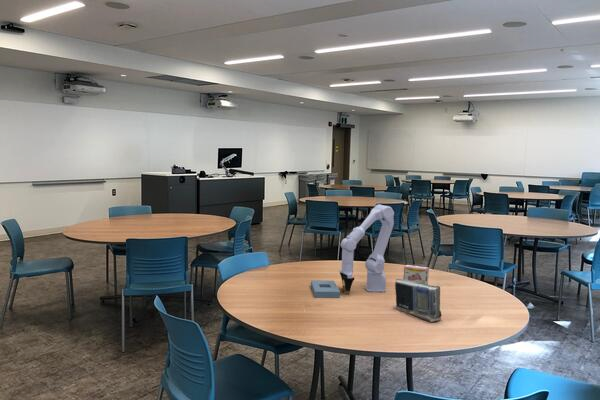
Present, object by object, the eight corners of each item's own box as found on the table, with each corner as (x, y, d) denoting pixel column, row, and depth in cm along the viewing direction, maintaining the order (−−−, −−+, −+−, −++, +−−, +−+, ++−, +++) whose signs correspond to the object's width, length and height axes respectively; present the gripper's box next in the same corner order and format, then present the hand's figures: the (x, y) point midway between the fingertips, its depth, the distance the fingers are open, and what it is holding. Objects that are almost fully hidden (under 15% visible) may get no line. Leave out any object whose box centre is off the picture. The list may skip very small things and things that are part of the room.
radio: (391, 307, 209) (392, 275, 207) (405, 304, 213) (407, 273, 211) (427, 324, 188) (429, 289, 187) (442, 321, 192) (444, 286, 191)
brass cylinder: (349, 290, 233) (349, 279, 232) (350, 293, 229) (351, 281, 228) (341, 290, 232) (342, 279, 232) (343, 293, 228) (343, 281, 228)
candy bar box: (401, 299, 220) (403, 266, 219) (404, 296, 225) (405, 264, 223) (425, 303, 216) (427, 269, 214) (427, 300, 220) (429, 267, 219)
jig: (333, 286, 240) (333, 280, 240) (339, 297, 220) (340, 291, 220) (310, 285, 239) (310, 280, 239) (315, 297, 219) (315, 291, 219)
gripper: (337, 258, 236) (336, 284, 237) (342, 265, 222) (341, 292, 223) (350, 259, 237) (349, 284, 238) (356, 265, 222) (355, 292, 223)
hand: (346, 288), depth 230 cm, fingers open, 7 cm apart
